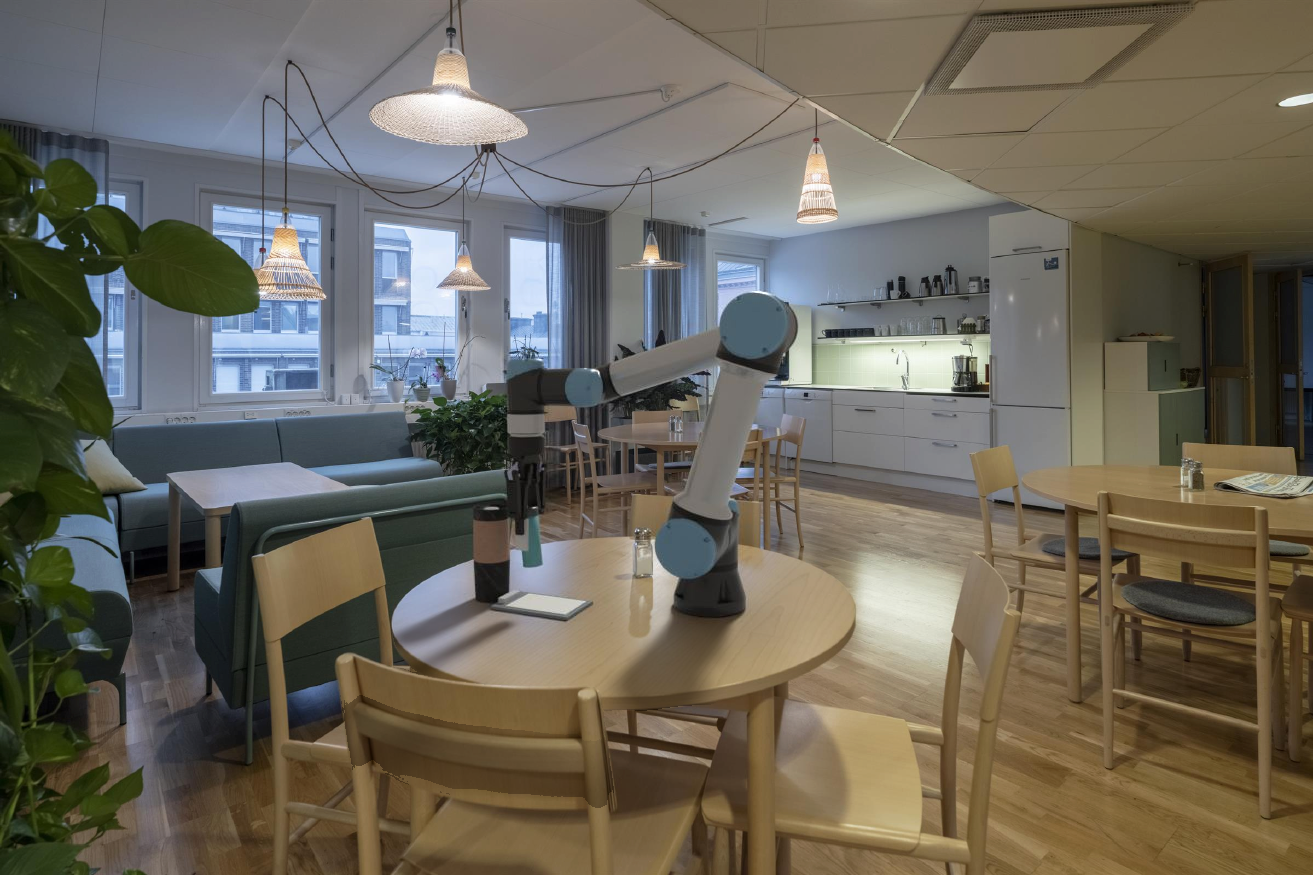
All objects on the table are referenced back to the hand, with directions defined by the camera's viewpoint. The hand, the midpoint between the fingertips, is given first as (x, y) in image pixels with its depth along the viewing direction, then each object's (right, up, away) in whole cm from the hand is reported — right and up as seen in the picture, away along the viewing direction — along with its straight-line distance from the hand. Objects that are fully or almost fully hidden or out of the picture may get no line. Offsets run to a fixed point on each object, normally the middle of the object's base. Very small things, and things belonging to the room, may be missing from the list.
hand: (527, 547), depth 151 cm
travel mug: (-9, -12, +7) cm, 16 cm away
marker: (+1, -4, 0) cm, 4 cm away
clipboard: (+3, -13, +1) cm, 13 cm away
